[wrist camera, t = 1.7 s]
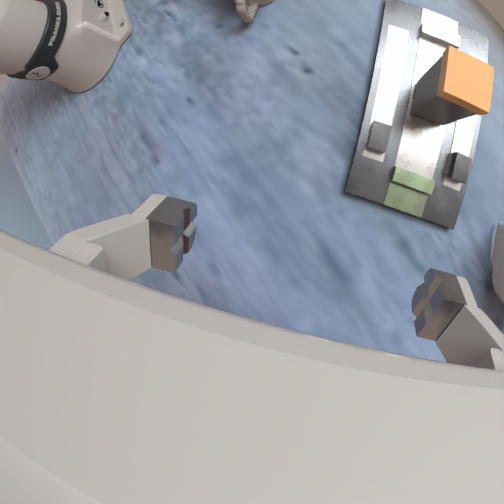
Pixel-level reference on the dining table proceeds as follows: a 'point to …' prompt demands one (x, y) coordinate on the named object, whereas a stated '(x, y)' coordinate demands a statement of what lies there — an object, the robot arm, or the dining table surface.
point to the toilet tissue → (498, 263)
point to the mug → (249, 8)
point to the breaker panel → (414, 120)
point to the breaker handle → (454, 88)
